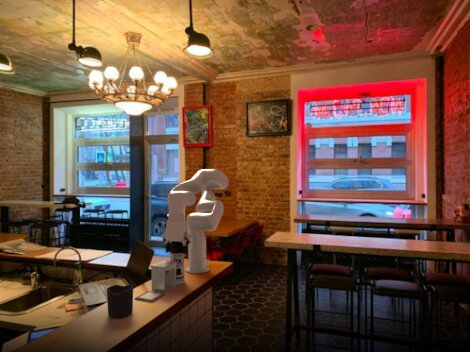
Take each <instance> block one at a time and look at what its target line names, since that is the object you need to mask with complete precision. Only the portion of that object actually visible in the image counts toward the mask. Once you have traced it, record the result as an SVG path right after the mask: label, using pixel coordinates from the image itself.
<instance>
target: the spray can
mask: <svg viewBox="0 0 470 352" xmlns="http://www.w3.org/2000/svg"><path fill="white" fill-rule="evenodd" d="M170 243H171V247H170V252H169V254H170V255H169V256H170V258H169V259H170V260H169V261H173V262H177V264H176V286H179V285H183V284H185V254H183V246H184V245H183V243H182V242H173V241H171V242H170Z"/></svg>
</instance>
